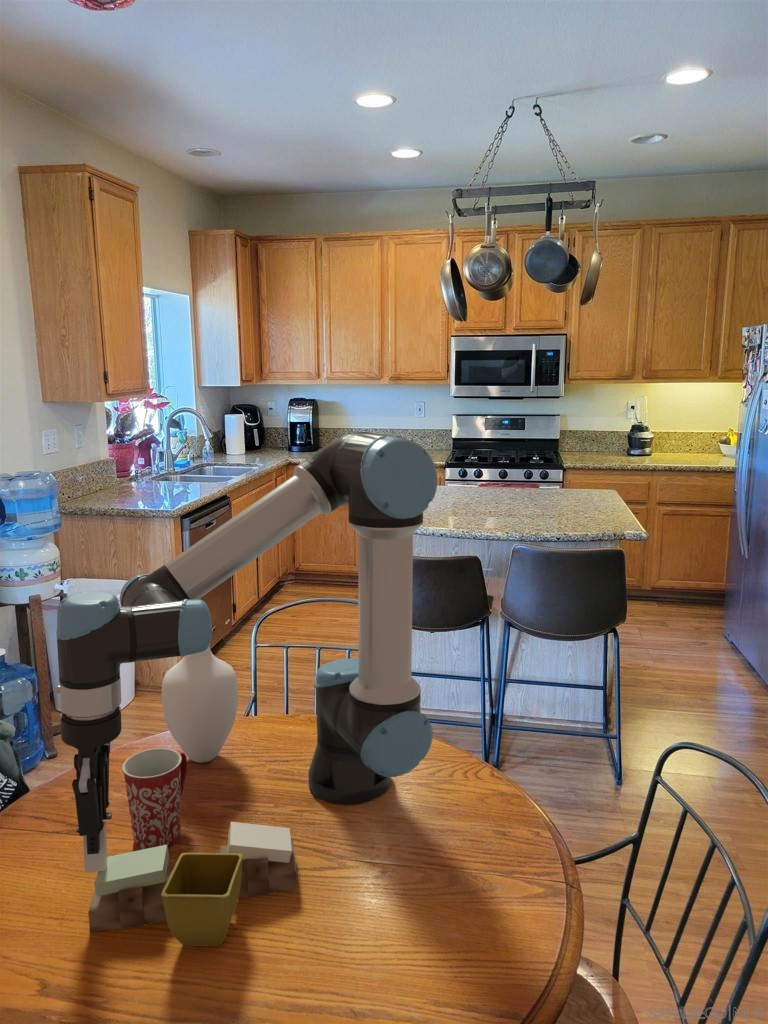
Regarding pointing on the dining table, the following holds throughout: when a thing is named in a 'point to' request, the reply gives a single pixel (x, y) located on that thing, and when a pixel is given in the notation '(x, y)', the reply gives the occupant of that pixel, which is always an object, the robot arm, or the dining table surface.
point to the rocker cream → (260, 841)
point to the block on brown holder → (266, 875)
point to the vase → (200, 704)
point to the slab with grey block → (128, 907)
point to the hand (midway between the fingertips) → (96, 868)
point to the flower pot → (202, 897)
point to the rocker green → (133, 870)
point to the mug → (155, 795)
